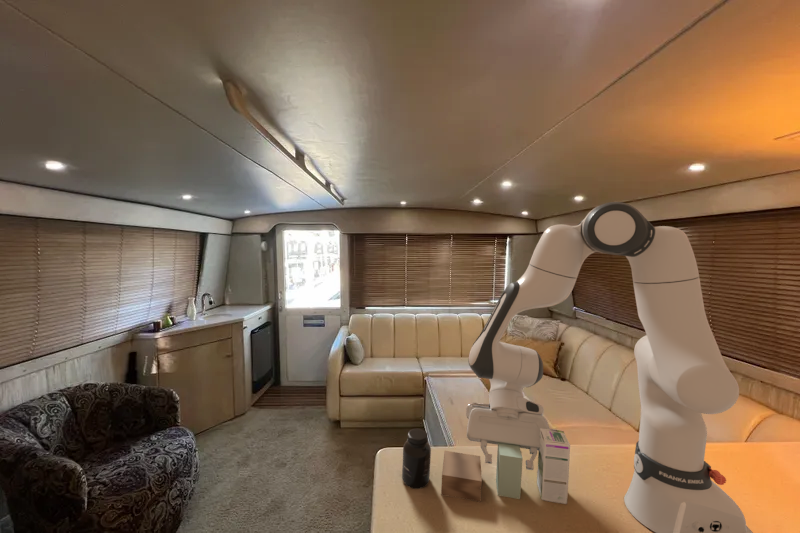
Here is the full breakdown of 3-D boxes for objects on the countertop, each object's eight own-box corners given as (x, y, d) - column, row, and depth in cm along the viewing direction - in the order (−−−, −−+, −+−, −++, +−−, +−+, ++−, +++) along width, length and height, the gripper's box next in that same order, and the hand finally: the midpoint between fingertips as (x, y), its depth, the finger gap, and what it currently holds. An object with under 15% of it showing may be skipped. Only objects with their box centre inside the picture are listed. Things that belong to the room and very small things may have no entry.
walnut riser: (479, 474, 85) (480, 456, 84) (480, 501, 76) (481, 481, 75) (443, 468, 86) (444, 450, 86) (441, 494, 78) (441, 474, 77)
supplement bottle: (397, 484, 81) (398, 436, 80) (408, 466, 87) (410, 422, 86) (423, 494, 78) (425, 445, 77) (433, 475, 84) (435, 430, 83)
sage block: (516, 483, 82) (519, 445, 81) (520, 499, 77) (522, 458, 76) (495, 480, 83) (498, 442, 82) (497, 495, 78) (500, 454, 77)
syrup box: (567, 505, 76) (572, 444, 74) (540, 500, 77) (544, 440, 76) (560, 487, 81) (565, 430, 80) (535, 482, 82) (539, 426, 81)
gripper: (466, 397, 87) (464, 456, 79) (549, 407, 83) (557, 470, 75) (466, 405, 92) (464, 461, 83) (544, 415, 88) (551, 475, 79)
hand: (509, 466), depth 79 cm, fingers open, 8 cm apart
